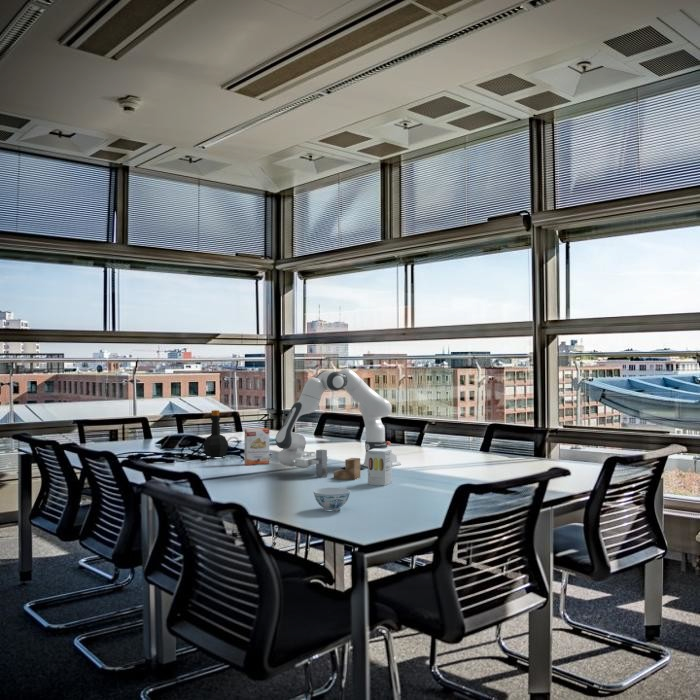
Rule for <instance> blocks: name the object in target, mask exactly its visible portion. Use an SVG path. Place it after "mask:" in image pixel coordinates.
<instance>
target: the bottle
mask: <svg viewBox="0 0 700 700" xmlns="http://www.w3.org/2000/svg"><path fill="white" fill-rule="evenodd" d="M210 421H211V425H210V426H211V428H210V430H211V432H210V433H211V434H210V435H209V436H207V437H206V438H205V440H204V441H203V450H204V453H205V456H206V455H208V456H211V457H223V456H225V457H226V456H227V452H228V449H229V443H228V440H227V439H226V437H225V436H224V435H222V434H221V425H220V421H221V415H220V410H219V409H218V410H217V409H216V410H211V415H210Z"/></svg>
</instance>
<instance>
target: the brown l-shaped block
mask: <svg viewBox="0 0 700 700" xmlns="http://www.w3.org/2000/svg"><path fill="white" fill-rule="evenodd" d="M344 460H345V461H344V463H345V465H344V467H345V468H344V469H338V470H335V471H333V479H334V478H337V479H336V480H348V479H352V481H355V479H356V480H358V479H360V478H361V458H360V457H350V458H347V459H344ZM357 478H358V479H357Z"/></svg>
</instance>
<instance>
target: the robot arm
mask: <svg viewBox="0 0 700 700" xmlns="http://www.w3.org/2000/svg"><path fill="white" fill-rule="evenodd" d="M342 389H344V390H345V392H346V393H347V394H348V395H349V396H350V397H351V398H352V399H353V400H354V401H355V402H357V403H358V410H359V412H360V414H361V415H362V419H363V423H364V427H365V442H364V447H365V449H364V450H365V454H364V455H365V456H364V461H363V465H362V466H364V467H366V468H368V450H371V449H375V448H376V449H390V448H389V446H391V444H392V443H391V441H388V440H387V441H386V431H385V430H386V428H385V425H384V424H383V422H382V418H386V417H388V416H390V414H391V413H392V409H393V408H392V404H391V402H390V401H389V400H387V399H385V398H384V397H382V395H380V394H379V393H377V392H376V391H375V390H374V389H372V388H371V387H370V386H369V385H368V384H367V383H366V382H365V381H364V380H363V379H362V377H360V376H359V375H358V374H357V373H356V372H355V371H353V370H352V369H351V368H349V367H346V368H343V369H341V370H340V371H335V370H323V371H320V373H318V374H317V375H316V376H315V377H310V378H308V380H307V381H306V383H305V385H304V386H303V389H302V392H301V394H300V396H299V398H298V399H297V401H296V402H294V403H293V404H292V405H291V407H290V410H289V411H288V414H287V416H286V417H285V420H284V421H283V424H282V426H281V428H280V429H279V430H278V432H277V434H276V436H275V444H276V446H277V448H279V449H282V450H280V451H279V452H278V454H277V458H278V459H277V460H278V462H279V463H280V464H282V466H287V467H293V468H294V467H296V468H298V469H299V468H301V469H306V468H308V467H310V466H312V465H316V464H320V460H316V451H307V450H306V451H305V448H306V443H307V442H306V438H305V436H304V435H302V434H298V433H296V432H293V429H294V428H295V425H296V424H297V421H298V419H299V418H300V417H301V416H303V415H307V414H308V415H309V414H312V413H314V412H315V411H316V410H317V409H318V407H319V405H320V403H321V399H322V395H323V394H324V392H325V391H329V392H332V391H333V392H337V391H340V390H342ZM388 445H389V446H388ZM328 458H329V456H327V462H328ZM399 465H402V462H400V461H398V458H397V454H396V452H395V451H393V450H392V467H395V466H399Z"/></svg>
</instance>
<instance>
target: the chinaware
mask: <svg viewBox="0 0 700 700" xmlns="http://www.w3.org/2000/svg"><path fill="white" fill-rule="evenodd" d="M313 495H314V498H315V501H316V502H317V503H318V505H319V506H321V508H323V511H325V510H339V509H340V510H341V508H342V507H344V505H345V504H347V502H348V500H349V497H350V495H351V490H350V489H349V488H344V487H321V488H316V489H314V490H313ZM340 510H339V511H340Z"/></svg>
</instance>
